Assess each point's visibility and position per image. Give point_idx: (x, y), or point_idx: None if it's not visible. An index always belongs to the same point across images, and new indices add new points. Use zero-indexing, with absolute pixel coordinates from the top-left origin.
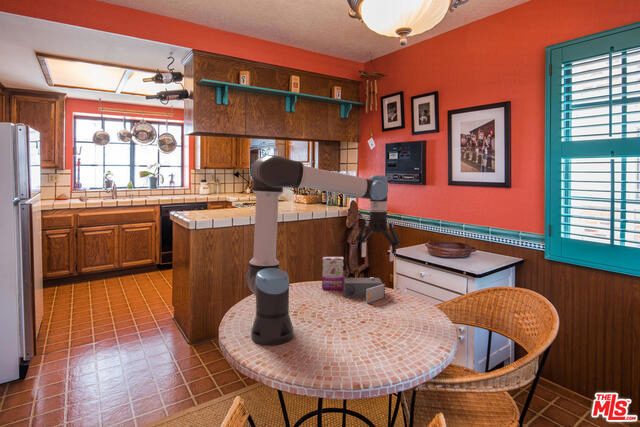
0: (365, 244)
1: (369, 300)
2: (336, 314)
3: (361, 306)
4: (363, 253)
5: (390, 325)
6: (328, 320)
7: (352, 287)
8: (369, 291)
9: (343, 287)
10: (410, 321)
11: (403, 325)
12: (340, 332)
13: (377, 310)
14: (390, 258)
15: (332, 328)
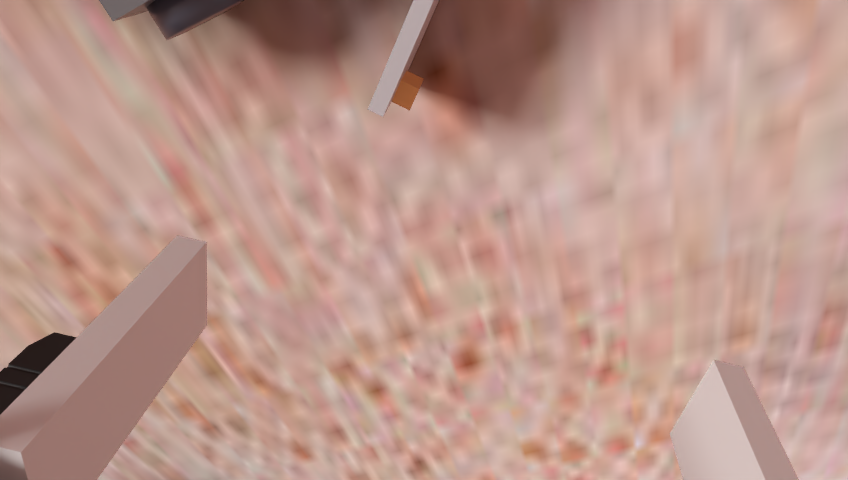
0: (65, 426)
1: (411, 61)
2: (301, 320)
3: (383, 148)
4: (176, 356)
5: (620, 358)
6: (304, 393)
7: (207, 16)
8: (397, 85)
9: None
10: (742, 276)
11: (694, 338)
12: (408, 474)
13: (508, 178)
14: (693, 473)
15: (361, 453)
